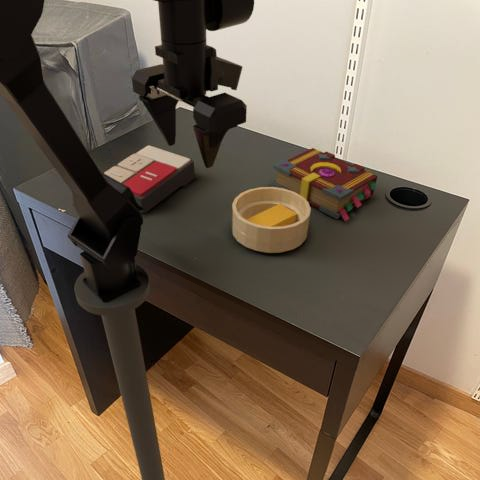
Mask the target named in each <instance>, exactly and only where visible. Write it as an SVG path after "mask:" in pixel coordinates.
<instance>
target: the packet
mask: <svg viewBox="0 0 480 480" xmlns="http://www.w3.org/2000/svg"><path fill="white" fill-rule="evenodd" d="M296 217H297V213H295V212H293V211H291V210H290V209H288V208H286V207H285V206H283V205H281V204H278V205H276V206H274V207H272V208H269V209H267V210H265V211H263V212H261V213H259V214H257V215H255V216H252V217H250V218H248V219H246V220H247V221H249V222H252V223H255V224H258V225H262V226H269V227H281V226H287V225H291V224H294V223H296Z"/></svg>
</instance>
